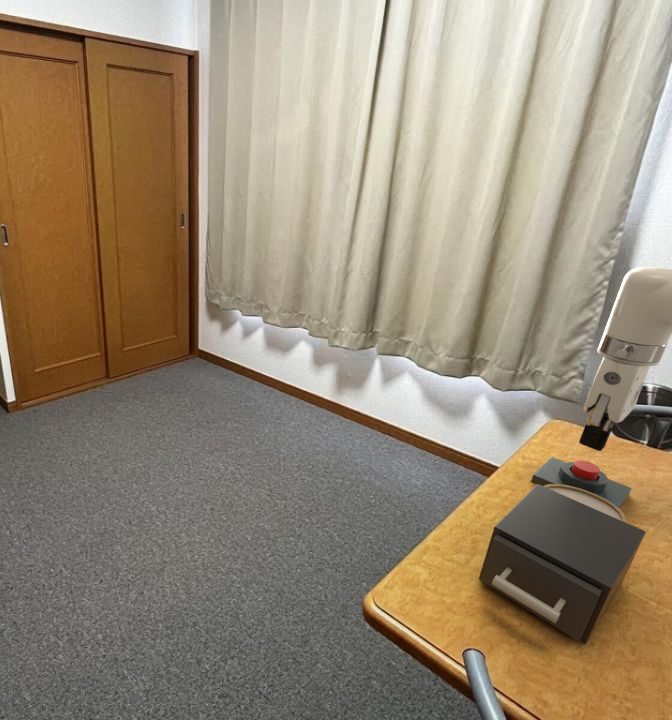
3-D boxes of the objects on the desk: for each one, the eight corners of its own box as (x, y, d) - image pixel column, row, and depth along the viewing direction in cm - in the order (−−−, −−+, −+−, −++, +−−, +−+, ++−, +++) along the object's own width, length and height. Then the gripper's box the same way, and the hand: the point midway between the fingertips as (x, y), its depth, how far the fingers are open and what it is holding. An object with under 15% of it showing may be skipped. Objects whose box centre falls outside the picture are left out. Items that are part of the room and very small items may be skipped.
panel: (628, 495, 83) (635, 479, 82) (612, 518, 78) (619, 501, 77) (549, 463, 92) (554, 448, 91) (530, 482, 87) (535, 466, 86)
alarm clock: (624, 501, 77) (634, 542, 65) (614, 527, 78) (622, 572, 67) (541, 475, 84) (537, 508, 72) (533, 500, 85) (527, 536, 73)
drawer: (566, 660, 56) (587, 614, 53) (467, 595, 64) (480, 551, 61) (613, 585, 65) (632, 541, 62) (521, 536, 74) (534, 496, 70)
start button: (599, 475, 83) (603, 467, 83) (592, 483, 81) (596, 475, 81) (575, 465, 86) (578, 457, 85) (568, 473, 84) (571, 465, 83)
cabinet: (585, 644, 58) (611, 588, 55) (478, 578, 68) (494, 526, 64) (621, 584, 66) (646, 531, 63) (521, 532, 76) (537, 483, 72)
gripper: (648, 368, 67) (604, 473, 75) (674, 344, 76) (631, 440, 83) (585, 352, 73) (549, 451, 80) (615, 331, 81) (580, 422, 89)
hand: (591, 445), depth 82 cm, fingers closed
